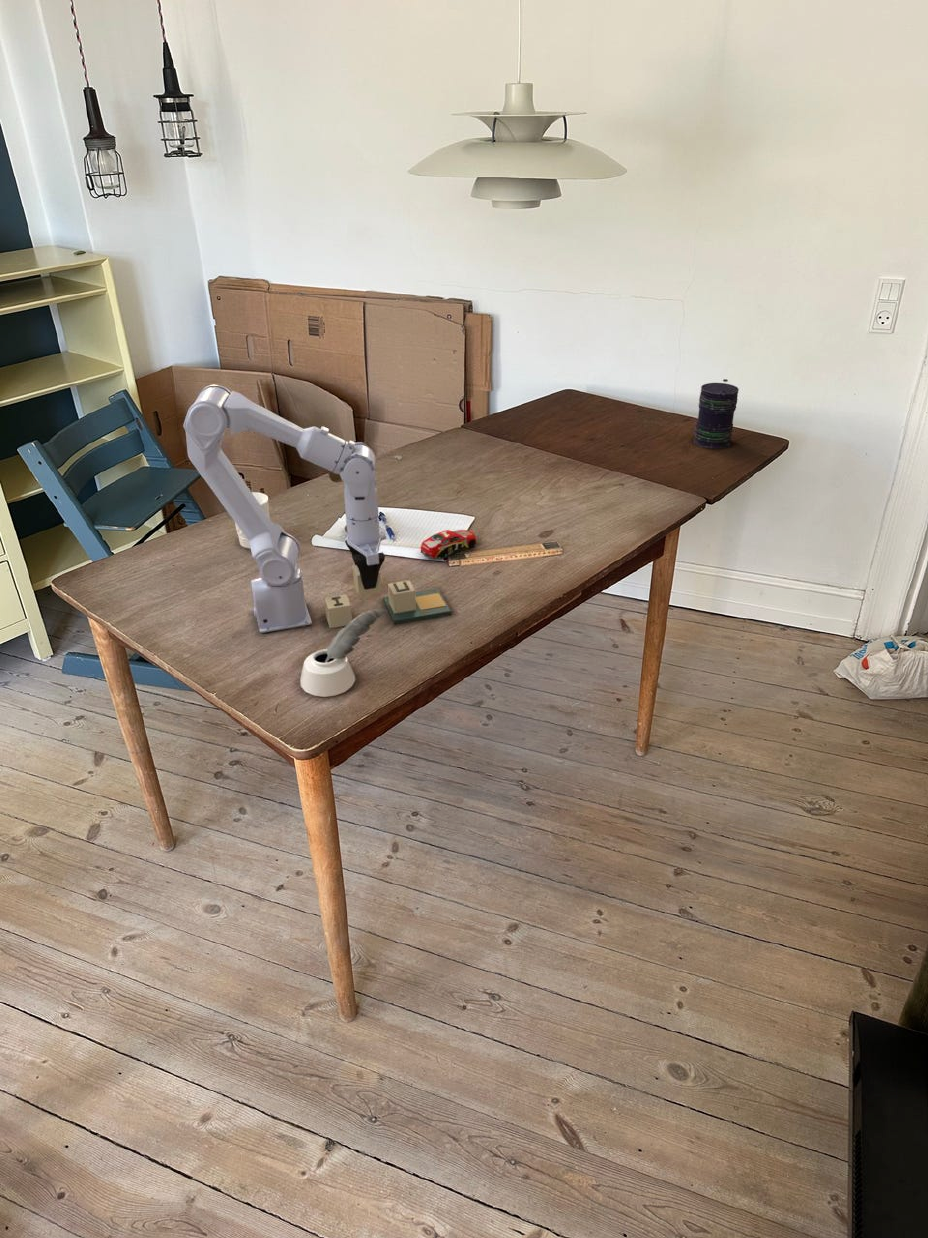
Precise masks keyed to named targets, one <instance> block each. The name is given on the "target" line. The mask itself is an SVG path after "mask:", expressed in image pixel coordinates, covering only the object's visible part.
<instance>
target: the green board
mask: <svg viewBox="0 0 928 1238" xmlns="http://www.w3.org/2000/svg"><path fill="white" fill-rule="evenodd" d="M415 598H416V610H413V611H407V612H401V613H395V614H394V612H393V610H392V608H391V606H390V604H389V596H383V597H382V601H383V603H384V605H385V608H386V610H388V614H389V616H390V617H391V619H392V622H393V624H394V625H398V624H403V623H405V624H406V623H411V622H416V621H422V620H427V619H428V620H429V619H433V618H439V617H444V616H451V615H452V610H451V608H450V606H449V605H448V603H447V602H446V600H445V598H444V596H443V595H442V593H441V591H440V589H439V588H432V589H426V590H420V591H415Z"/></svg>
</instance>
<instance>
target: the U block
mask: <svg viewBox="0 0 928 1238" xmlns="http://www.w3.org/2000/svg"><path fill="white" fill-rule="evenodd" d="M387 590H388V592H387V593H388V597H389V604H390V606H391V608H392V610H393V612H394V614H395V613H401V612H407V611H413V610H416V598H415V592H416V590H415V588H414V585H413V584H412V582H411V581H410V580H404V581H398V582H397V581H396V582H391V583H387Z"/></svg>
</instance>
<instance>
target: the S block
mask: <svg viewBox="0 0 928 1238" xmlns="http://www.w3.org/2000/svg"><path fill="white" fill-rule="evenodd" d="M352 575H353V576H352V577H353V586H354V589H355V590H356V592H357V595H358V596H366V595H372V594H379V593H382V582H381V581H382V580H381V571H380V570H379V574H378V579H377V584H376V588H372V589H366V590H365V589H364V587H363V584H362V580H361V576H360V572H359V569H358V567H357V565H355V564H353V565H352Z"/></svg>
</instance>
